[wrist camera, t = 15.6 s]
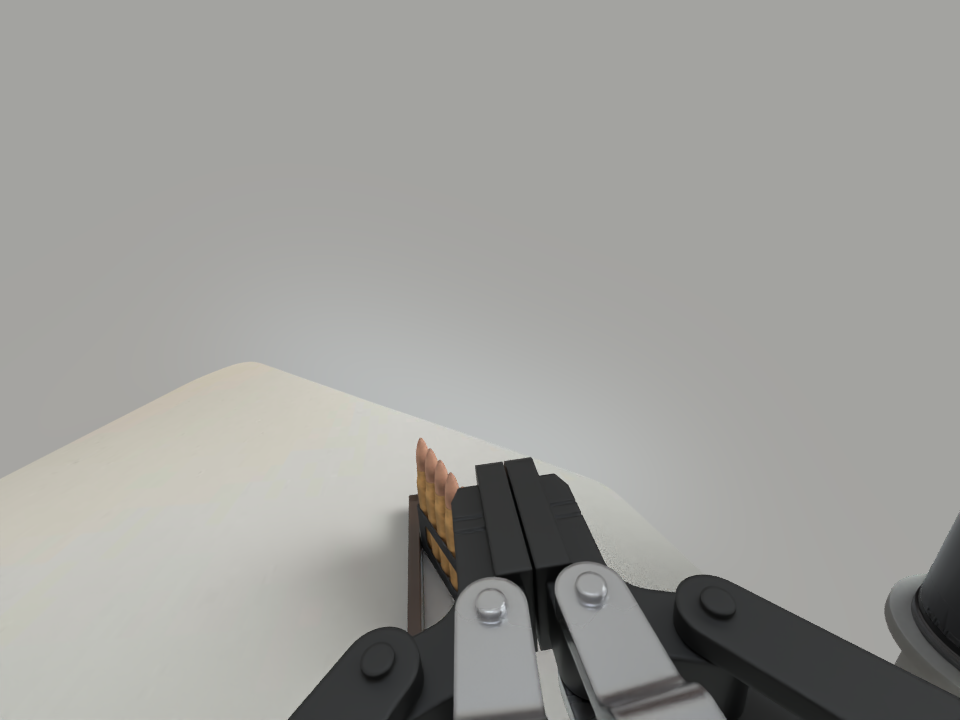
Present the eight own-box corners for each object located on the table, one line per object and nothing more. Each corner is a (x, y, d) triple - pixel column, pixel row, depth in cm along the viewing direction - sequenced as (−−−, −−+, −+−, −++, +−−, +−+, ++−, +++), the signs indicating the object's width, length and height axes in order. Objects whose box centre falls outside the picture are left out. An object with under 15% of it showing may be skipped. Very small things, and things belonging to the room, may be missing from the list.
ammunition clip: (421, 545, 41) (405, 436, 36) (439, 536, 42) (426, 429, 37) (480, 641, 33) (470, 517, 28) (501, 628, 34) (495, 505, 29)
